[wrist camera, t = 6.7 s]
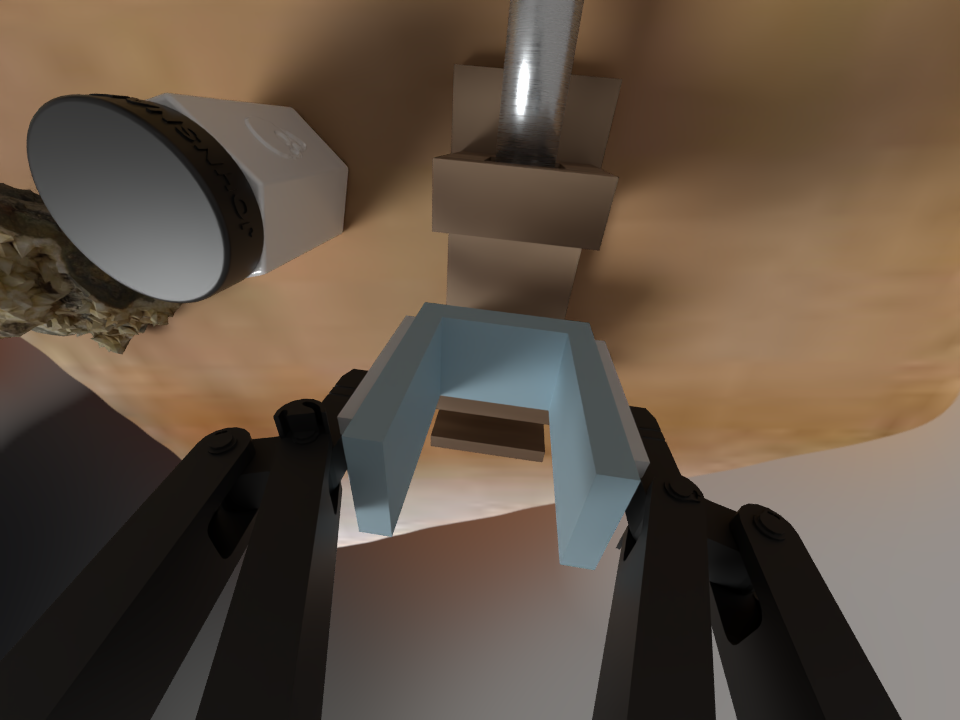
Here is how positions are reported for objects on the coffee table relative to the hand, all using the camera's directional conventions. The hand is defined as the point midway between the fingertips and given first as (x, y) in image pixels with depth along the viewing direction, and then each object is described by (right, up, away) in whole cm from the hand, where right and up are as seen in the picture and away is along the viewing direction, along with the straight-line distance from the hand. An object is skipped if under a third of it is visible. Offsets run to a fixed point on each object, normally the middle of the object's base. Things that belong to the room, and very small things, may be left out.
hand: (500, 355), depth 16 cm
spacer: (0, 0, 0) cm, 0 cm away
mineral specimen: (-33, +7, +15) cm, 37 cm away
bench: (+1, +7, +10) cm, 13 cm away
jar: (-14, +12, +9) cm, 21 cm away
